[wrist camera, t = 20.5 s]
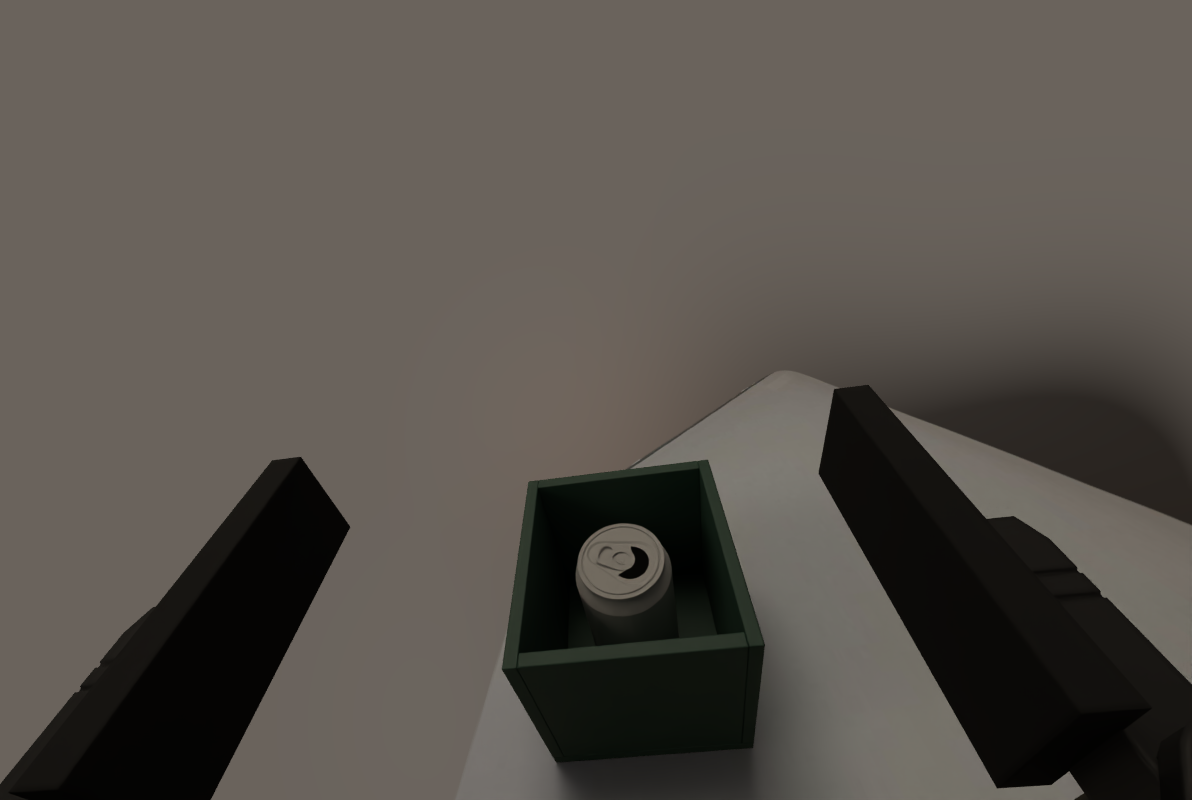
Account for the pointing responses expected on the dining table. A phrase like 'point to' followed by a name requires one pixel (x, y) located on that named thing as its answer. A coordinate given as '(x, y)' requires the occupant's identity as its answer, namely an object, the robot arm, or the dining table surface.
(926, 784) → the dining table surface
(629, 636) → the beverage can
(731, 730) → the waste bin
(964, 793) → the dining table surface
